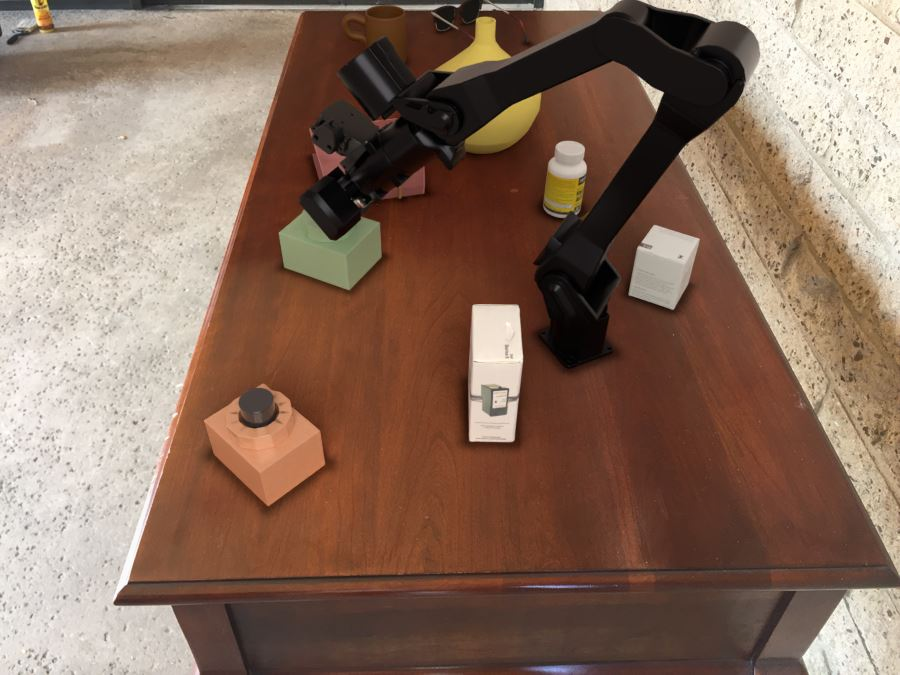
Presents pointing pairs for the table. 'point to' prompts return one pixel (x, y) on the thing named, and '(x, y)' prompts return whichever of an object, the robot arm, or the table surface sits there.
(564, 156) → the supplement bottle
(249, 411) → the dark grey push button
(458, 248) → the table surface
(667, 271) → the white cardboard box
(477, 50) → the vase
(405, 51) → the mug
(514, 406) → the ink box
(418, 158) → the robot arm
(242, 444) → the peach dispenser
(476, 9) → the sunglasses
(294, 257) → the green push button box
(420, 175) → the book
